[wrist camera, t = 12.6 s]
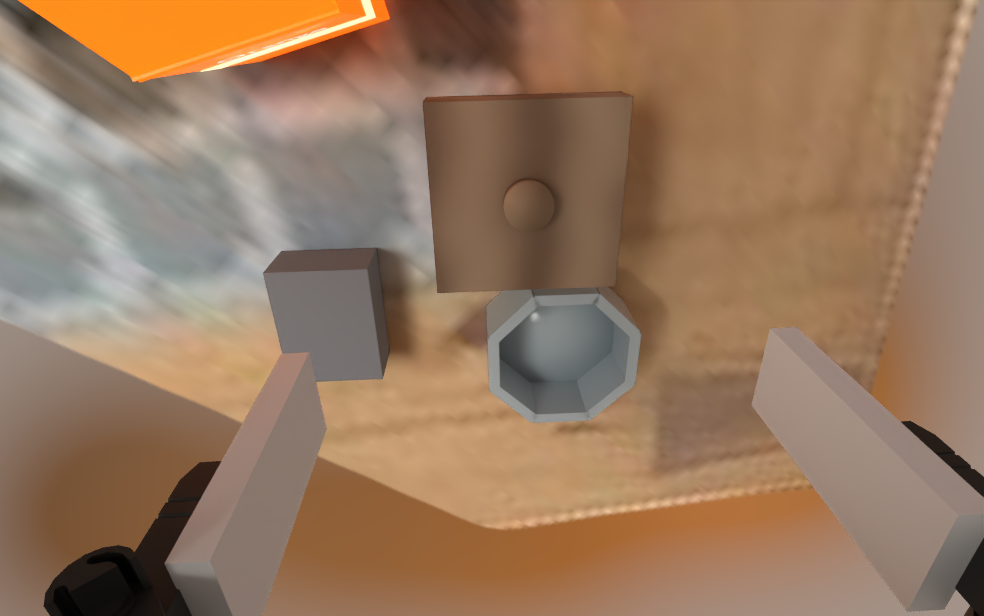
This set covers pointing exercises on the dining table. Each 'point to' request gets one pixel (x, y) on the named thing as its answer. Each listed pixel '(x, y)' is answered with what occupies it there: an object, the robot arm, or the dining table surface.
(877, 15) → the dining table surface
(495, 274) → the lid
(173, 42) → the orange juice
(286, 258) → the grey rectangular block
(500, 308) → the grey bowl
